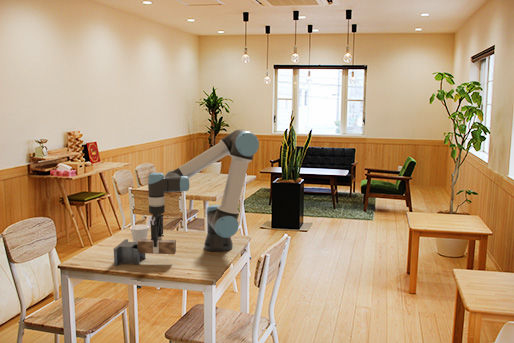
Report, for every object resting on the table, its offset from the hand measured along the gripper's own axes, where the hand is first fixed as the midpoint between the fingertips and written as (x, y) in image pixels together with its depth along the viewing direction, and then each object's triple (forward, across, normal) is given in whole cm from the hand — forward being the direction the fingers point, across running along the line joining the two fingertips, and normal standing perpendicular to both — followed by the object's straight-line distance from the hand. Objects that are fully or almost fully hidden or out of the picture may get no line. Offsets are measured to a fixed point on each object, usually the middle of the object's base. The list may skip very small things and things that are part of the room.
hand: (157, 251), depth 248 cm
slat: (+1, 0, 0) cm, 1 cm away
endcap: (+6, 0, -13) cm, 15 cm away
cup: (+6, -22, -17) cm, 28 cm away
